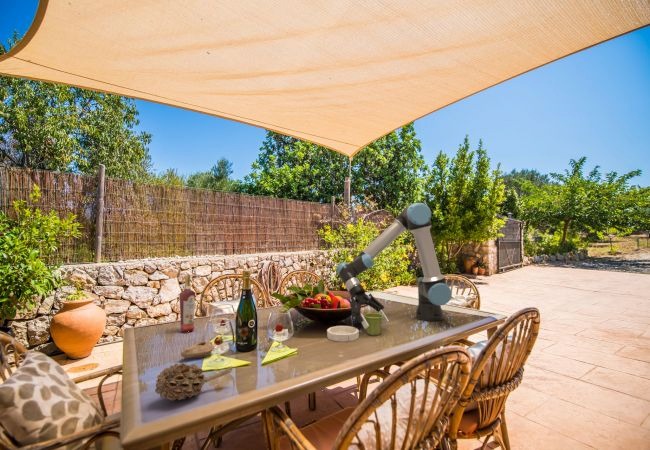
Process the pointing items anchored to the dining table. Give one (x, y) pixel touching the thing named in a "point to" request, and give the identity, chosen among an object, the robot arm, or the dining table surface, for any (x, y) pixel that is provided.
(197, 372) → the banksia seed pod
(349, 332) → the saucer
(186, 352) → the pottery oil lamp
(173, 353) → the dining table surface
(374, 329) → the plant pot
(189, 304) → the liquor
